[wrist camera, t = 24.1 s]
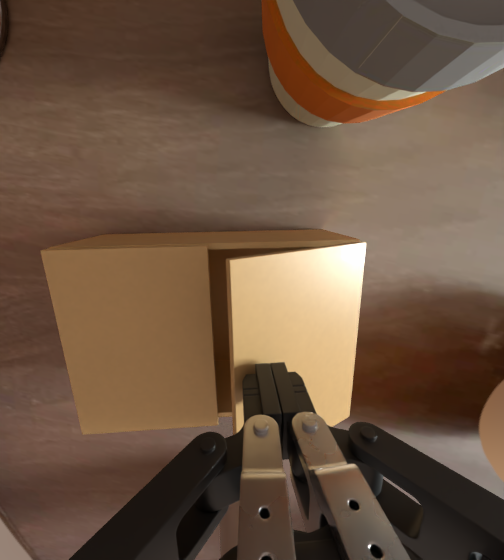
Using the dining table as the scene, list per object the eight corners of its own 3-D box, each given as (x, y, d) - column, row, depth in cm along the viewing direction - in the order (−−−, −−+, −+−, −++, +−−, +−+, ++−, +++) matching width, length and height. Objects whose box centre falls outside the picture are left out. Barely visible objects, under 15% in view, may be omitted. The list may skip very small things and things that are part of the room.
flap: (360, 241, 17) (366, 241, 16) (345, 413, 20) (349, 416, 20) (225, 258, 12) (229, 259, 12) (234, 479, 15) (238, 484, 15)
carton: (322, 229, 24) (366, 241, 16) (315, 356, 28) (349, 417, 20) (104, 234, 23) (38, 249, 15) (126, 366, 26) (81, 435, 18)
